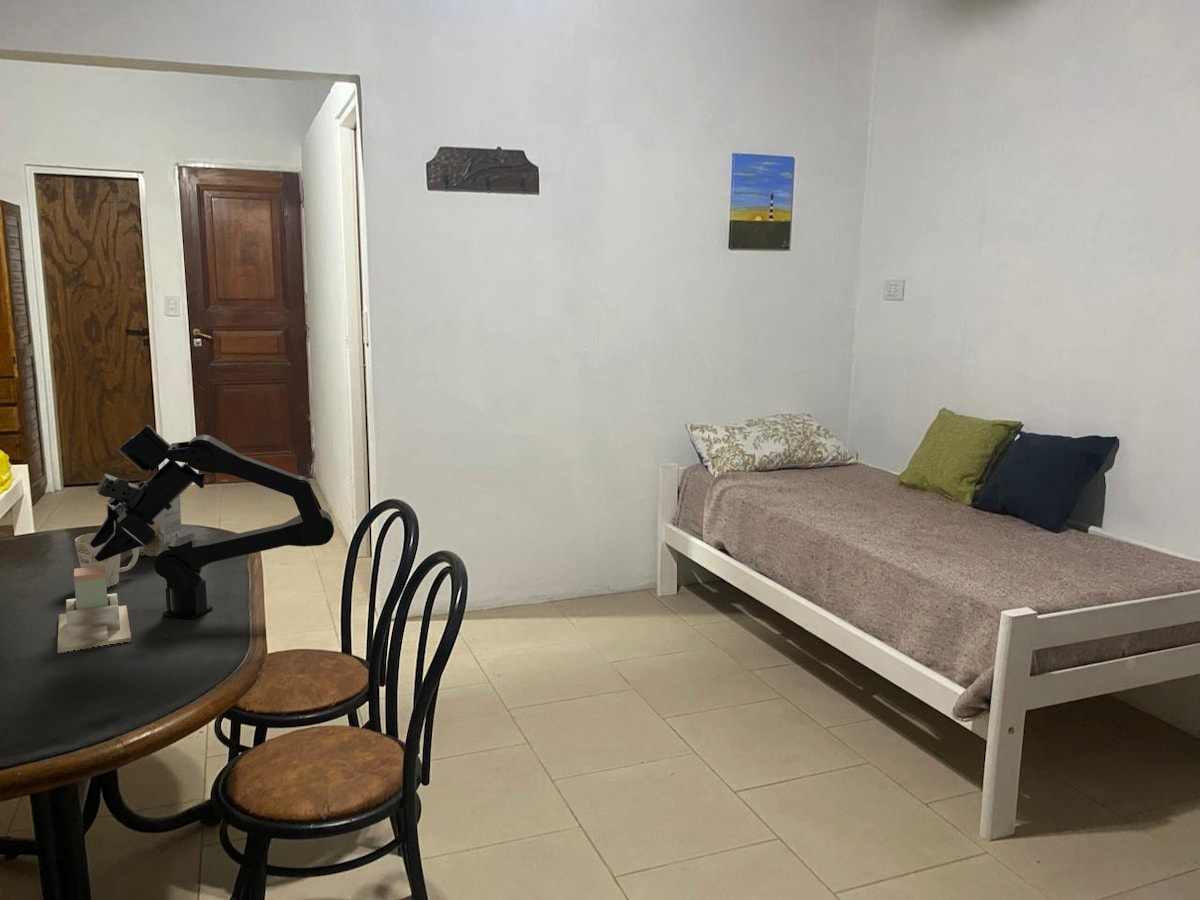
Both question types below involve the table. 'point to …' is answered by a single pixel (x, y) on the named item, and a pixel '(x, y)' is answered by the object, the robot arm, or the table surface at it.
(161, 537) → the coffee box
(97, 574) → the block
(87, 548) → the mug
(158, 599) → the table surface
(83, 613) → the card holder
